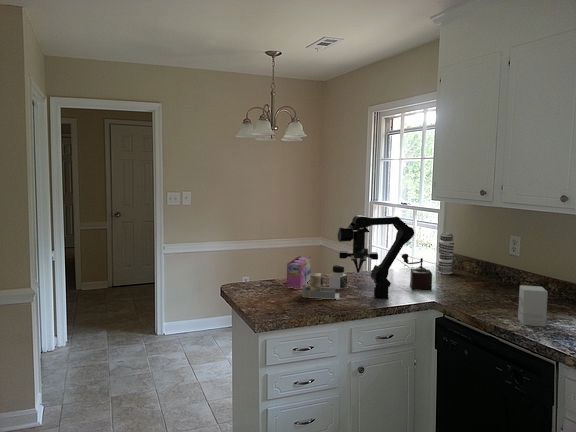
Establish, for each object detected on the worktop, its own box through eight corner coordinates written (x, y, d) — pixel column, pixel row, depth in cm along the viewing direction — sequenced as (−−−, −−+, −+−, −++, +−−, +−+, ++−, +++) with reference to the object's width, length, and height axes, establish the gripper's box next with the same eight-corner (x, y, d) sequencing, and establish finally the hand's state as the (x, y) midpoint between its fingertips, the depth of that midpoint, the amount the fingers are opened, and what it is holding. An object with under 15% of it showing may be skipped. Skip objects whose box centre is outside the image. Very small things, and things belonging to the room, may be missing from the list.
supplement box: (540, 320, 200) (542, 286, 198) (546, 327, 191) (548, 291, 189) (517, 318, 202) (519, 284, 200) (522, 325, 193) (524, 289, 192)
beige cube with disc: (322, 292, 236) (322, 273, 235) (321, 296, 230) (322, 276, 229) (311, 292, 237) (311, 273, 236) (310, 295, 231) (310, 275, 230)
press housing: (339, 294, 237) (339, 281, 236) (339, 300, 227) (339, 286, 226) (304, 293, 239) (304, 280, 238) (302, 298, 229) (302, 285, 229)
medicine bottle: (340, 289, 247) (340, 267, 246) (328, 287, 251) (329, 265, 250) (347, 287, 253) (347, 265, 251) (335, 285, 257) (336, 263, 256)
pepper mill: (428, 285, 258) (430, 253, 256) (432, 290, 247) (433, 257, 245) (400, 284, 260) (401, 252, 258) (402, 289, 249) (403, 256, 247)
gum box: (298, 278, 271) (298, 255, 270) (311, 280, 269) (312, 256, 268) (286, 288, 249) (286, 263, 247) (300, 290, 246) (300, 264, 245)
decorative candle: (449, 271, 297) (451, 232, 294) (455, 274, 288) (457, 234, 285) (435, 270, 297) (437, 232, 294) (440, 274, 287) (442, 234, 285)
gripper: (339, 243, 221) (338, 275, 223) (379, 244, 219) (378, 277, 220) (339, 239, 232) (339, 270, 234) (377, 240, 230) (376, 271, 231)
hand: (358, 272), depth 230 cm, fingers closed
